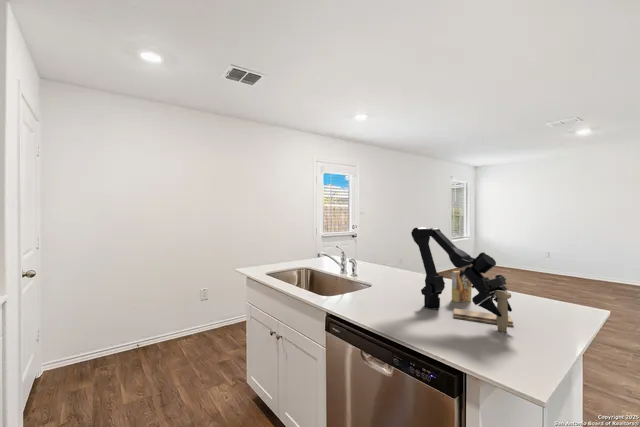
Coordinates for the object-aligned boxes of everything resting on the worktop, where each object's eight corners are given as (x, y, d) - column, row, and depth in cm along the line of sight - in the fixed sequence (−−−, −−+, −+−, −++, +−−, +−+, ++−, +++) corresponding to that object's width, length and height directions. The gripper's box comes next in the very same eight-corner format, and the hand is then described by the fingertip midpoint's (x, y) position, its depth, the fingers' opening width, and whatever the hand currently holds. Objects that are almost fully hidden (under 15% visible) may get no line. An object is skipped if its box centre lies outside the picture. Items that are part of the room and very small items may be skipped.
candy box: (466, 299, 155) (466, 270, 154) (471, 301, 151) (472, 271, 150) (451, 300, 153) (451, 270, 153) (456, 302, 149) (457, 272, 148)
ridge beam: (453, 318, 128) (453, 314, 128) (454, 310, 137) (454, 307, 137) (513, 327, 118) (513, 323, 118) (509, 318, 127) (509, 315, 127)
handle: (501, 334, 112) (501, 295, 111) (490, 327, 118) (491, 290, 118) (513, 334, 112) (514, 294, 111) (502, 327, 118) (503, 290, 118)
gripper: (480, 271, 112) (512, 308, 103) (502, 265, 123) (532, 298, 114) (460, 287, 119) (488, 323, 110) (482, 280, 130) (510, 312, 121)
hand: (506, 313), depth 114 cm, fingers open, 9 cm apart
